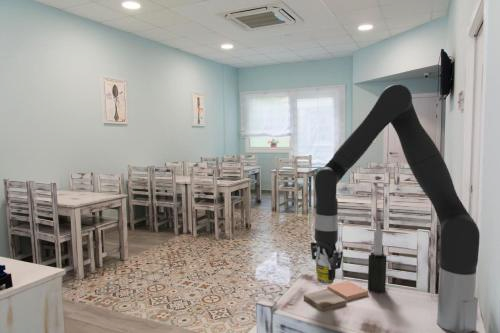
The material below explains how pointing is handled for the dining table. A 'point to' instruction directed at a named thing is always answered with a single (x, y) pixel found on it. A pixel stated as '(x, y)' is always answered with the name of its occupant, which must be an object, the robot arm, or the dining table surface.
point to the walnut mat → (325, 300)
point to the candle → (377, 264)
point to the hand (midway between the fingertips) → (325, 276)
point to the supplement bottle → (323, 271)
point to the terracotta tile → (347, 290)
